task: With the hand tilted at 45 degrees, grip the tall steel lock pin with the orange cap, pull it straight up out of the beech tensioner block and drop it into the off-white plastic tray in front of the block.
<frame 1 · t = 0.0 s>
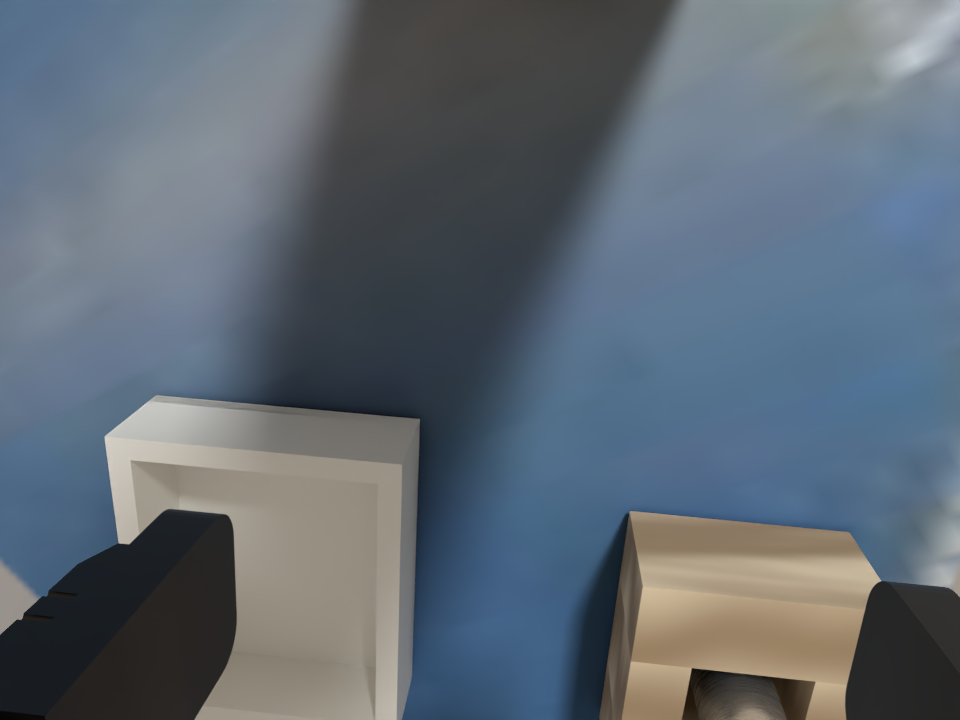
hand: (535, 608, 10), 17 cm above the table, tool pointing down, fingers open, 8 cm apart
tray: (291, 544, 30), on the table
tensioner block: (715, 630, 30), on the table
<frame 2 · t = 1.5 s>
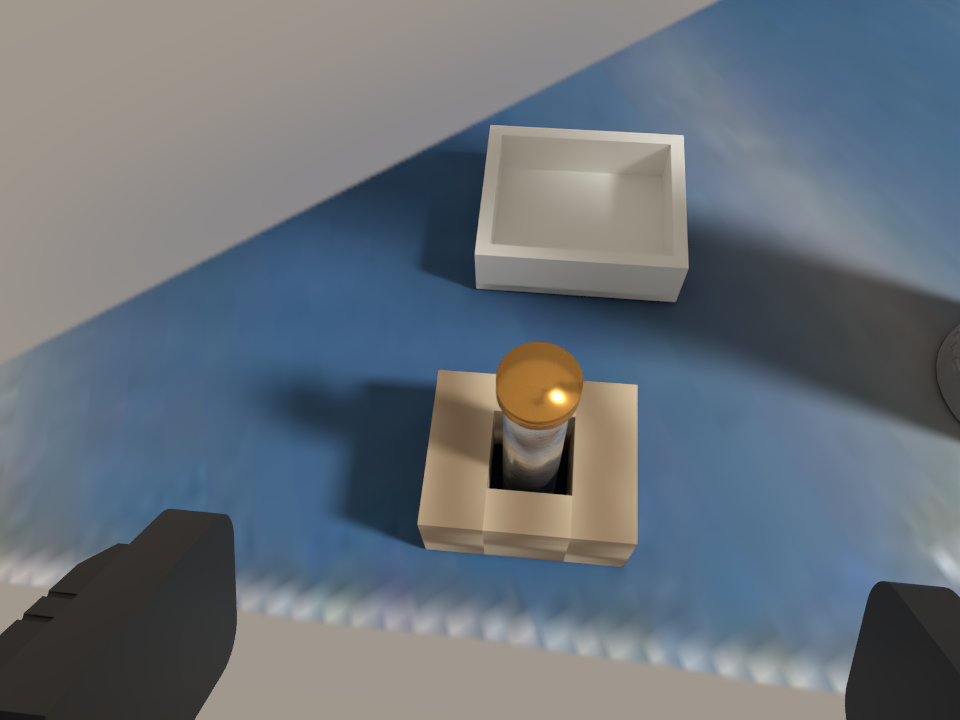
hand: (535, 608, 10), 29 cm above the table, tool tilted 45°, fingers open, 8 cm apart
tray: (578, 229, 48), on the table
lock pin: (533, 439, 35), in the tensioner block
tensioner block: (528, 482, 40), on the table
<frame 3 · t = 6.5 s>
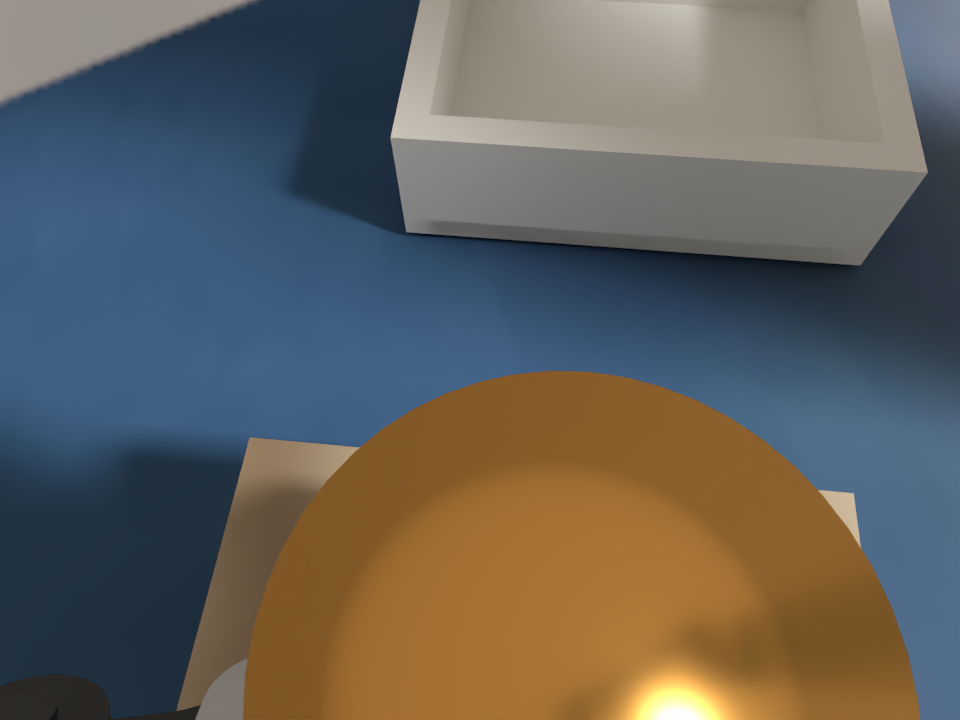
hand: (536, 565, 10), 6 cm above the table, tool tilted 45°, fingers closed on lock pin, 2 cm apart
tray: (630, 112, 22), on the table
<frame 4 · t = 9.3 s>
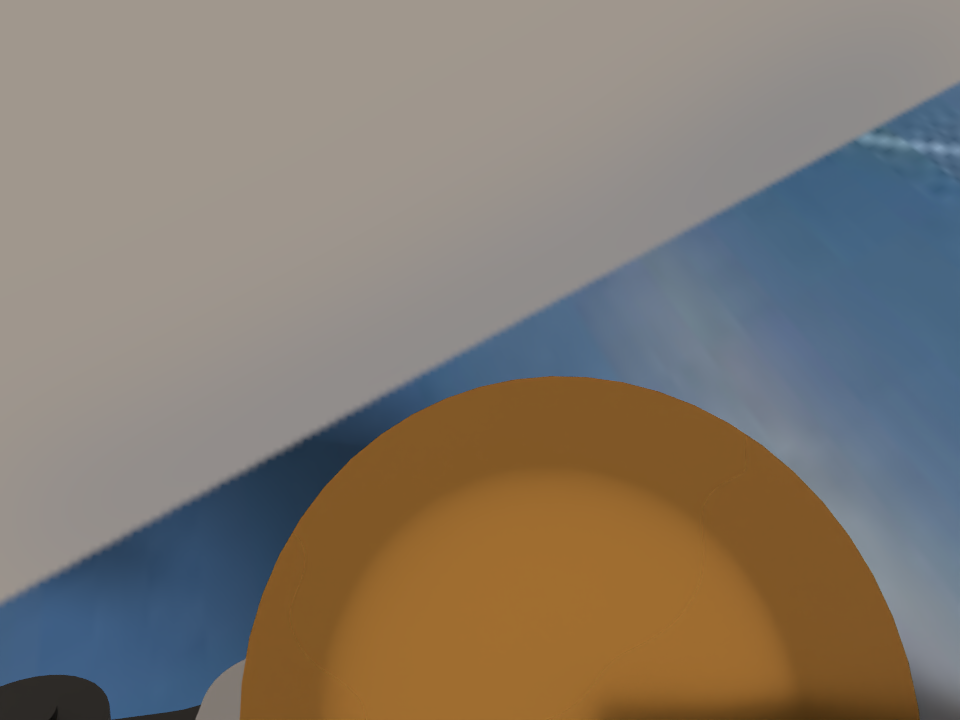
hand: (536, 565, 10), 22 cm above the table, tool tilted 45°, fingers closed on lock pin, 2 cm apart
when the fingers open (9 cm above the table, at t = 12.6 s): lock pin stays where it is, resting on tray.
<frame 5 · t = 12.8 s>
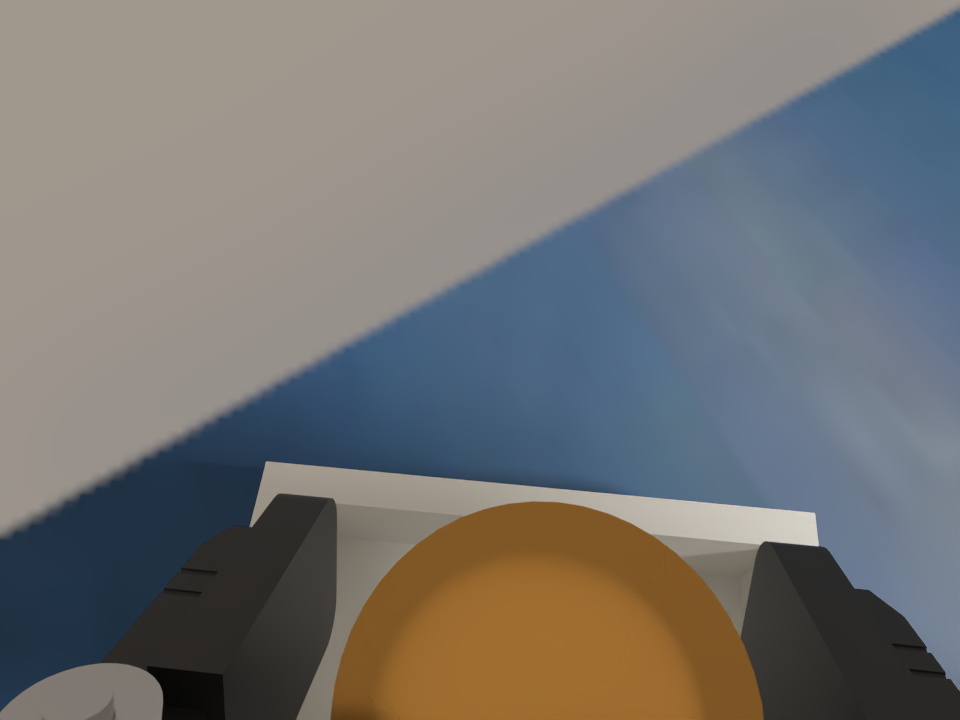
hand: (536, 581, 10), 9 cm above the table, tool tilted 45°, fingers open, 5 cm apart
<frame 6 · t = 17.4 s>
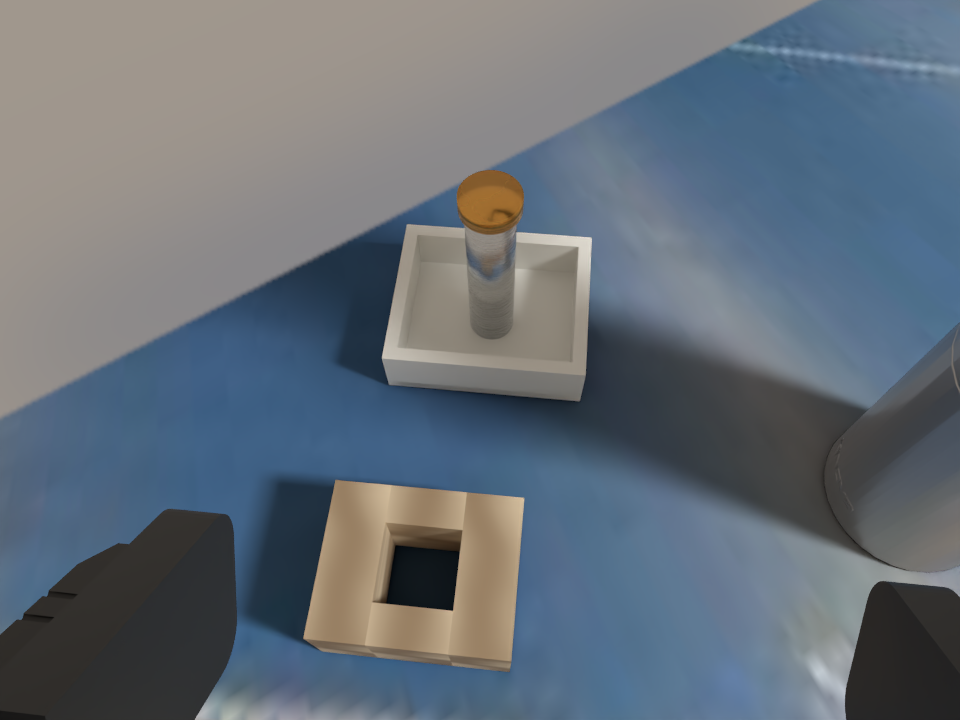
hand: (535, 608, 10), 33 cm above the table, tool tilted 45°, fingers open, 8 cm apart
tray: (491, 324, 50), on the table
lock pin: (491, 265, 44), in the tray, point 7 cm above the table
tensioner block: (425, 584, 42), on the table
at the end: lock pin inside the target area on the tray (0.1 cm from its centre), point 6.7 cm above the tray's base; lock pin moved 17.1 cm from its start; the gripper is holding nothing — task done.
